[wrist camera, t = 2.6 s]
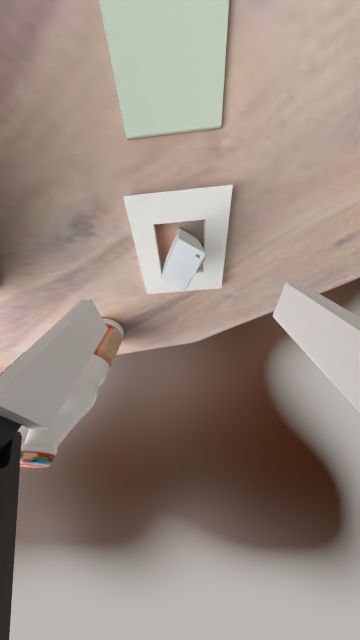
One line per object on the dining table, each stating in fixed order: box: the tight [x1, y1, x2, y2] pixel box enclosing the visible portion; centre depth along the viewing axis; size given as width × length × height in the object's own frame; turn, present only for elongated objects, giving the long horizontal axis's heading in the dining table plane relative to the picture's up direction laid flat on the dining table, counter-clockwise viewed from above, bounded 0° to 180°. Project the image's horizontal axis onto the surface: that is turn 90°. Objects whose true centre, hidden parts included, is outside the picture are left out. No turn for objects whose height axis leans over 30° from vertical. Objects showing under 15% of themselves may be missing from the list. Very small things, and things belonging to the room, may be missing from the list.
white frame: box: [123, 185, 233, 294], centre depth 28 cm, size 17×17×2 cm
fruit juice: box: [20, 318, 124, 467], centre depth 30 cm, size 9×9×28 cm
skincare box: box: [161, 228, 206, 290], centre depth 24 cm, size 6×4×12 cm
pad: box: [99, 0, 229, 139], centre depth 15 cm, size 13×13×1 cm
